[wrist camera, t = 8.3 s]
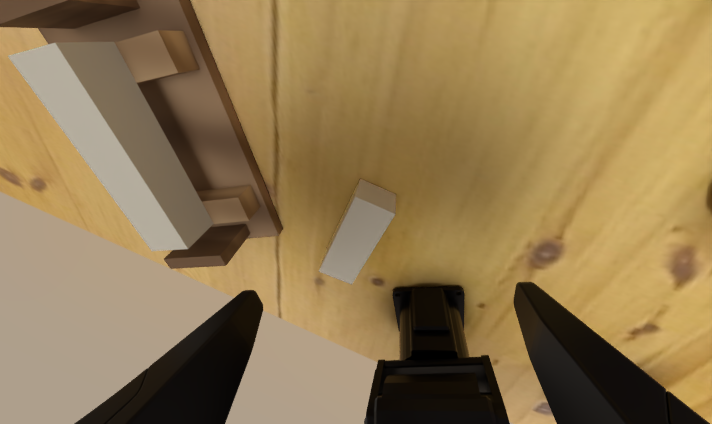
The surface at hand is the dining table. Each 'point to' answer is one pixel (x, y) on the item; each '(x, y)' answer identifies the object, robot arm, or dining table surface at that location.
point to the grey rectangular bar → (117, 138)
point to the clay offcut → (358, 231)
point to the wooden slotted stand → (173, 107)
